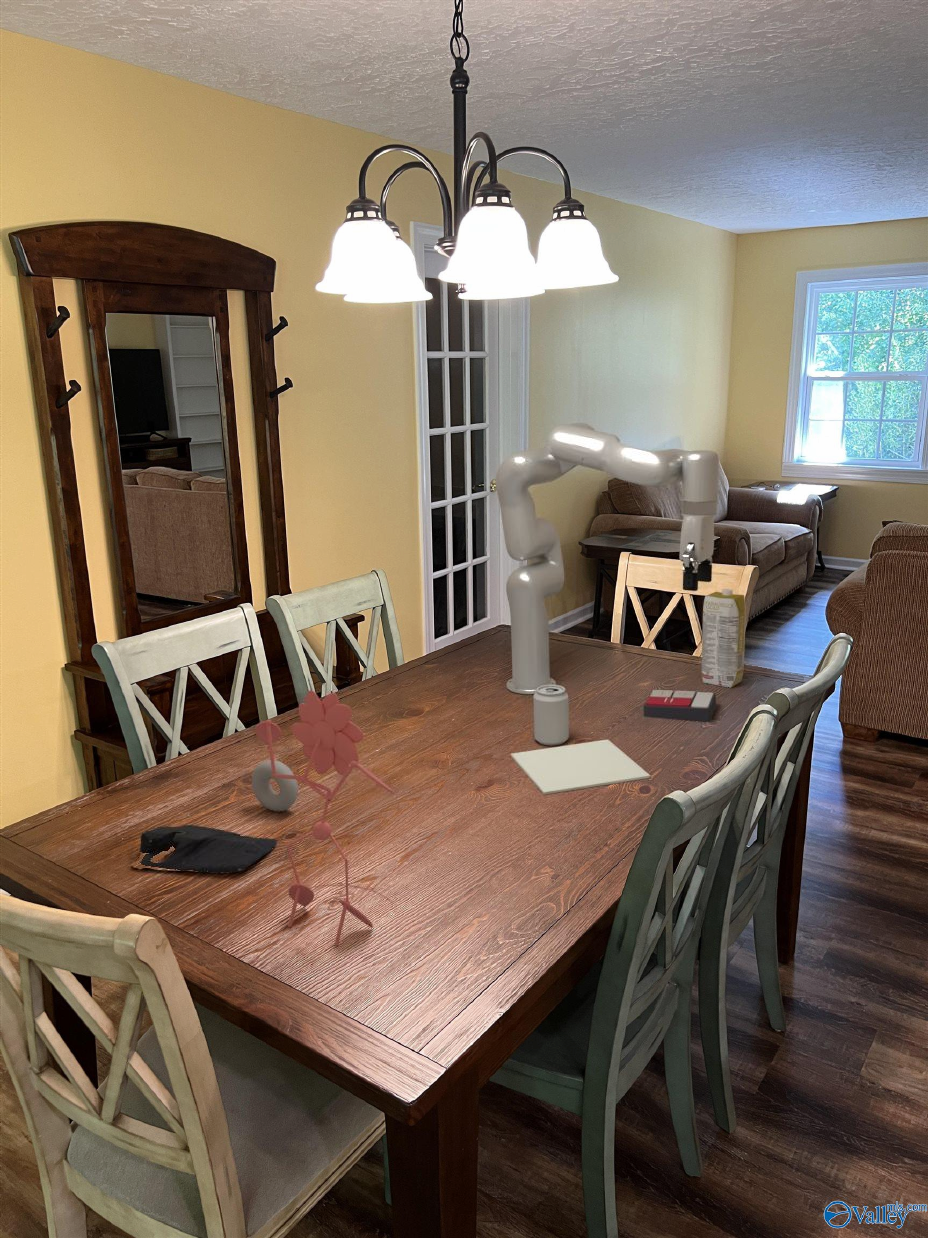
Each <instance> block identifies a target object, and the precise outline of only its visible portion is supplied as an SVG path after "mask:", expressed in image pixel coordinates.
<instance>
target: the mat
mask: <svg viewBox="0 0 928 1238" xmlns="http://www.w3.org/2000/svg"><path fill="white" fill-rule="evenodd" d="M510 757H511V758H512V759H513V760H514V761H515V762H516V764H517V765H518V767H520V768H521V770H522V771H523V772H524V773H525V774H526V775H527V776H528V778H529V780H531V781H532V783H533V784H534V785H535V786H536V788H537V789H538V790H539V791H540V792H541V793H542V794H543V796H545V795H553V794H556V793H558V794H559V793H565V792H569V791H575V790H576V791H577V790H582V789H588V788H589V789H590V788H594V787H601V786H606V785H613V784H619V783H625V782H631V781H632V782H633V781H638V780H644V779H650V778H651V775H650V774H649V773H648V772H647V771H646V770H644V769H643V768H642V767H641V766H640V765H639V764H637V763H636V762H635V761H634V760H633V759H632V758H630V757H629V756H628V755H627V754H626V753H625V752H623V751H622V750H621V749H620V748H619V747H617V746H616V745H615V744H614V743H612V742H611V741H610V739H601V740H595V741H588V742H583V743H581V742H580V743H575V744H567V745H561V746H556V747H555V746H554V747H548V748H547V747H546V748H540V749H535V750H527V751H521V752H520V751H519V752H514V753H510Z"/></svg>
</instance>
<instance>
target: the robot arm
mask: <svg viewBox="0 0 928 1238" xmlns="http://www.w3.org/2000/svg"><path fill="white" fill-rule="evenodd" d="M719 460H720V459H719V454H718V453H717V452H716V451H713V450H707V449H706V450H705V449H704V450H703V449H701V450H684V449H678V448H667V449H662V450H656V451H650V450H645V449H642V448H638V447H632V446H628V445H626V444H623V443H622V442H621V440H620V438H619V437H618V435H615V434H613V433H608V432H603V431H598V430H595V428H594V427H593V426H591V425H589V424H588V423H583V422H574V423H566V424H565V423H564V424H559V425H558V426H556V427H555V428H553V429H552V430H551V431H550V432H549V434H548V436H547V439H546V446H544V447H542V448H535V449H533V448H532V449H526V450H522V451H521V450H520V451H517V452H515V453H513V454H511V455H510V456H508V457H507V458H505V459H504V460H503V461H502V462H501V464H500V465H499V467H498V469H497V472H496V473H495V474H496V475H495V489H496V490H495V491H496V494H497V498H498V502H499V503H498V504H499V507H500V514H501V523H502V524H501V525H502V529H503V537H504V544H505V548H506V552H507V554H508V556H509V558H511V559H512V560H514V561H518V562H523V561H528V560H529V564H526V565H523V566H521V567H518V568H516V569H514V571H512V572H511V574H509V576H508V577H507V580H506V584H505V589H506V591H505V592H506V597H507V602H508V606H509V613H510V614H509V617H510V629H511V631H510V633H511V634H510V636H511V638H510V639H511V640H510V641H511V663H512V664H511V665H512V666H511V667H512V668H511V671H512V677H511V678H510V679H509V680H508V681H507V682H506V688H507V689H508V690H509V691H511V692H512V693H517V694H521V695H522V694H523V695H534V694H535V693H536V692H537V691H536V689H537V688H538V687H540V686H543V685H557V684H556V683H557V682H556V680H555V679H553V678H552V677H551V675H550V673H551V672H550V630H549V628H550V627H549V625H550V624H549V616H548V611H547V609H546V606H545V602H544V600H545V599H547V598H550V597H553V596H555V595H556V594H558V593H559V592H560V591H561V590H562V588H563V586H564V583H565V568H564V567H565V566H564V560H563V559H564V558H563V552H562V546H561V538H560V535H559V532H558V530H557V528H556V526H555V525H554V524H553V522H552V521H550V520H548V519H546V518H543V517H537V513H536V506H535V501H534V499H533V496H532V494H531V493H530V491H529V487H531V486H535V485H541V484H546V483H551V482H553V481H556V480H557V479H559V478H562V476H564V475H566V474H567V473H569V472H570V471H571V470H573V469H574V468H576V467H578V466H581V467H584V468H588V469H593V470H596V471H601V472H604V473H606V474H607V475H609V476H612V477H614V478H616V479H618V480H622V481H625V482H628V483H633V484H636V485H640V486H644V487H648V488H659V487H662V486H663V487H664V486H667V485H671V484H672V485H673V484H676V483H681V515H680V516H682V523H681V530H680V542H679V543H680V545H679V561H680V562H682V590H683V591H689V592H690V591H691V592H697V591H698V590H699V582H702V583H711V582H712V579H713V578H712V577H713V576H712V574H713V573H712V572H713V557H712V556H713V554H714V550H715V549H714V547H715V520H714V517H717V516H718V499H719V498H718V495H719V493H718V491H719V465H720V463H719V462H720V461H719Z"/></svg>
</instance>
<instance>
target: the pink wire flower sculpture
mask: <svg viewBox="0 0 928 1238" xmlns="http://www.w3.org/2000/svg"><path fill="white" fill-rule="evenodd" d="M298 713H299V718H300V720H301V722H295V723H292V725H291V728H290V730H291V733H292V735H293V736H294V737H295V739H296V740H297V741H298V742H299V743H301V744H302V749H301V751H302V755H303V756H304V757H305V758H308V759H309V761H308V763H307V765H306V767H305V770H304V772H303V775H295V774H294V775H283V774H275V773H276V771H275V762H274V760H275V755H274V754H275V753H274V747H273V743H274V742H277V741H278V740H280V737H281V735H282V729H281V728H280V727H279V725H278V724H277V723H275V722H272V721H271V719H266V720H262V721H260V722H259V723H258V724H256V725H255V729H254V733H255V735H256V737H257V738H258V739H259V740H260V741H262V742H263V743H264V744H265V745H268V748H269V749H268V750H269V760H271V769H272V774H274V775H273V778H285V779H296V780H297V781H298V780H299V783H301V784H305V785H307V787H309V788H310V789H312V790H313V791H314V792H316V794H318V795H319V796H321V797H322V798H323V799H325V803H324V808H323V813H322V814H323V815H322V820H320V821H317V822H316V823H314V825H313V827H312V832H309V833H306V834H305V835H304V836H301V837H299V838H297V839H295V840H294V841H292V842H290V843H287V844H286V851H287V853H288V857H289V860H290V863H291V866H292V869H293V872H294V876H295V877H294V878H295V880H296V883H293V884H291V885H290V887H289V888H288V892H287V893H288V896H289V897H290V898H291V900H292V901H293V903H292V907H291V911H290V915H289V920H288V924H287V927H288V928H292V926H293V923H294V919H295V914H296V909H297V905H298V904H299V905H300V906H302V907H304V908H305V907H307V906H308V905H310V904H311V903H312V902H313V901H314V898H315V893H314V891H313V889H312V888H319V887H329V886H333V887H334V886H335V884H326V885H324V884H323V885H315V886H309V885H306V884H304V883H302V882H301V881H300V878H299V874H298V872H297V868H296V865H295V861H294V858H293V855H292V850H291V848H290V846H292V845H294V844H297V843H299V842H300V841H302V840H305V839H306V838H309V837H310V836H313V837H314V839H316V840H318V841H325V840H327V839H328V838H330V839H331V841H332V842H333V844H334V846H335V847H336V848H337V850H338V852H339V853H340V855H341V857H342V859H343V860H344V867H345V871H344V872H345V873H344V874H345V875H344V876H345V884H343V882H336V885H341V886H345V900H344V899H341V898H340V899H339V901H338V902H339V904H340V905H341V906H342V911H341V915H340V919H339V924H338V928H337V932H336V936H335V941H334V946H336V947H337V946H339V944H340V938H341V935H342V931H343V925H344V922H345V918H346V913H347V911H348V912H349V913H350V914H351V915H352V916H354V917H355V918H356V919H358V920H359V921H361V922H362V923H364V924H365V925H366V926H368V927H369V928H371V929H372V928H374V925H373V923H372V922H371V921H370V919H369V918H368V917H367V916H366V915H365V914H363V912H361V910H359V909H357V908H356V907H355V906H353V905H352V904H351V901H349V887H355V888H361V889H365V890H369V891H372V892H374V893H376V894H378V895H380V896H382V897H384V898H386V899H388V900H389V902H391V903H392V904H394V902H393V901H392V900H391V899H389V897H387V896H385V895H384V894H382V893H381V892H378V891H376V890H375V888H373V887H370V886H367V885H365V887H363V886H357V885H351V884H349V863H348V858H347V857H346V855H345V854H344V852H343V850H342V849H341V847H340V846H339V844H338V842H337V840H336V839H335V837H334V836H333V834H332V826H331V825H330V824H329V823H328V822H327V821H326V816H327V813H328V808H329V804H330V803H331V802H332V800H333V798H335V796H336V794H338V791H339V790H340V789H341V787H342V786H343V784H344V783H345V781H346V780H347V778H348V777H349V775H351V772H352V771H353V770H354V768H357V769H358V770H359V771H361V772H362V773H363V774H365V775H366V776H367V777H368V778H369V779H371V780H372V781H373V782H374V783H376V784H377V785H379V786H380V787H382V788H383V789H384V790H385V791H387V792H389V793H391V794H393V795H394V794H395V791H394V790H393V789H392V788H390V787H389V786H388V785H387V784H386V783H384V782H383V781H382V780H381V779H379V778H378V777H377V776H376V775H375V774H373V773H372V772H370V771H369V770H368V769H366V768H365V767H364V766H363V765H361V764H360V763H359V760H360V756H359V752H358V749H357V747H356V745H355V744H357V743H361V742H362V741H364V736H365V735H364V733H363V732H362V730H361V728H360V727H359V725H357V724H355V723H354V722H353V721H351V718H352V717H353V710H352V708H351V707H350V706H349V705H347V704H345V703H344V704H343V703H340V700H339V696H338V695H337V693H336V692H330V693H328V694H327V695H325V697H324V698H323V699H322V700H320V698H319V696H318V694H317V693H316V692H315V691H314V690H308V692H307V693H306V695H305V699H304V702H301V703H300V704H299V705H298ZM312 765H313V767H314V771H315V772H316V774H318V775H321V776H322V775H324V774H326V773H328V771H329V770H330V769H331V768H334V770H335V771H336V773H337V774H339V775H340V776H341V778H340V780H339V781H338V783H337V784H336V786H335V787H334V789H333V791H332V790H331V788H330V787H328V786H326V785H323V784H320V783H317V782H315V781H311V780H309V779H308V776H309V773H310V771H311V768H312ZM332 766H333V767H332ZM321 790H324V791H326V793H324V792H323V791H321ZM372 956H374V953H372V954H370V955H369V956H366V957H364V958H362V961H364V960H366V959H368V958H370V957H372Z"/></svg>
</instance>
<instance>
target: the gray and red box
mask: <svg viewBox="0 0 928 1238" xmlns="http://www.w3.org/2000/svg"><path fill="white" fill-rule="evenodd" d="M715 708H716V709H717V697H716V693H714V692H702V691H697V692H696V691H695V690H694V691H693V690H670V689H669V690H668V689H667V690H666V689H665V690H663V689H653V690H652V691H651V693H650V694H649V696H648V698H647V699H646V700H645V702H644V704H643V717H644V718H645V717H646V718H655V719H657V718H658V719H665V720H666V719H667V720H678V719H680V721H681V719H682V720H683V721H684V720H685V721H690V722H696V721H698V722H697V723H706V722H710V721H711V722H712V719H711V718H713V717H714V714H715V712H716V709H715ZM714 711H715V712H714ZM713 713H714V714H713ZM712 716H713V717H712ZM711 722H710V723H711Z"/></svg>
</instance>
